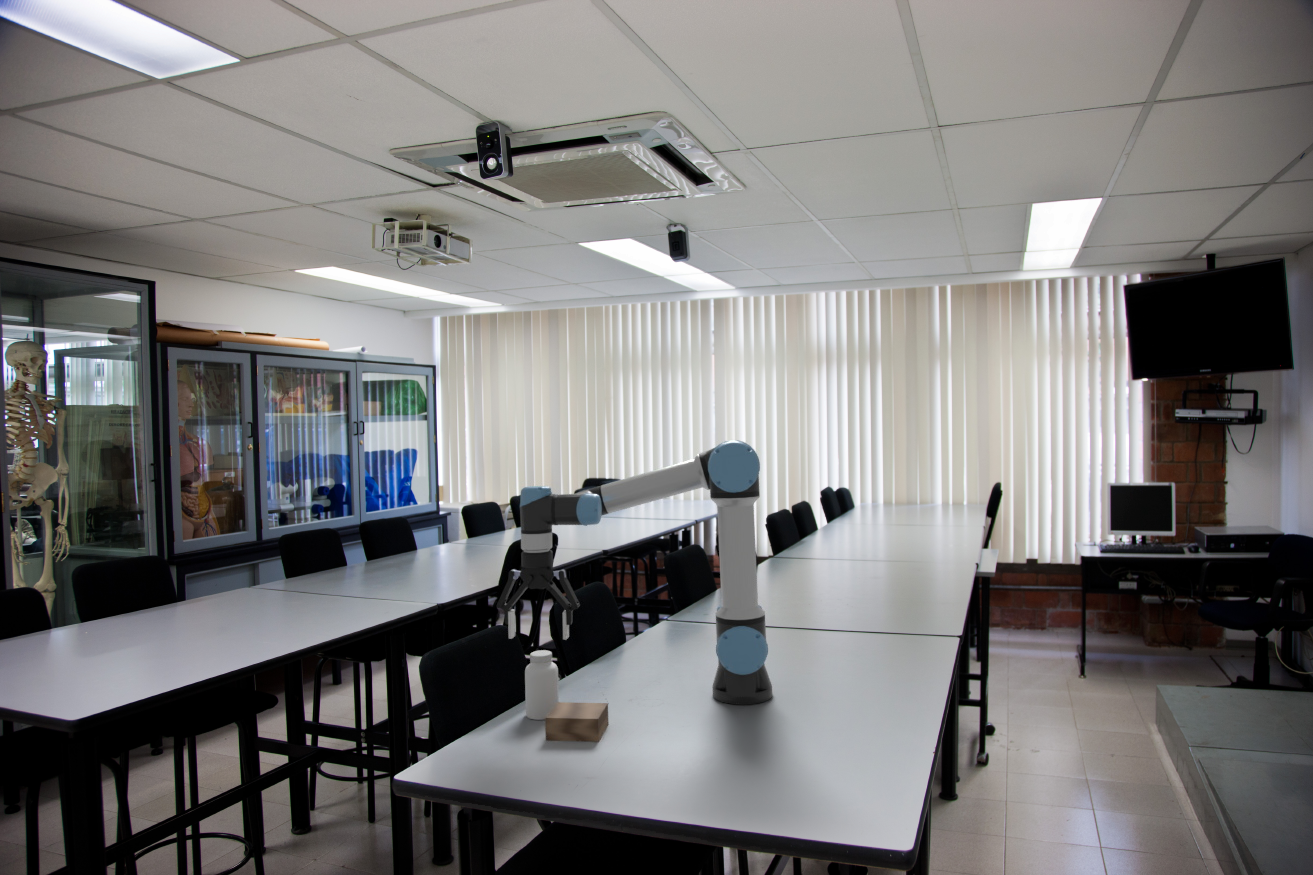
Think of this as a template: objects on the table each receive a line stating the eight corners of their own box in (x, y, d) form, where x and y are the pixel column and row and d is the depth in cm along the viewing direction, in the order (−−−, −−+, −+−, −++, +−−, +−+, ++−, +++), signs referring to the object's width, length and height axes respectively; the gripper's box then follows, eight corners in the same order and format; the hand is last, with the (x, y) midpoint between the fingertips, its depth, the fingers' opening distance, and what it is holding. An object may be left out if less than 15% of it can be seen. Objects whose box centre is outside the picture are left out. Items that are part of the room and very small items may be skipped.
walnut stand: (608, 724, 176) (607, 702, 176) (598, 741, 167) (598, 718, 167) (558, 723, 178) (557, 702, 178) (545, 740, 168) (545, 717, 168)
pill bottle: (553, 721, 180) (550, 657, 180) (520, 720, 181) (518, 657, 181) (563, 709, 188) (561, 648, 188) (532, 708, 189) (530, 647, 189)
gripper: (590, 547, 186) (592, 634, 186) (493, 547, 190) (495, 632, 190) (583, 552, 179) (585, 642, 179) (482, 552, 183) (484, 640, 183)
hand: (538, 637), depth 185 cm, fingers open, 13 cm apart
